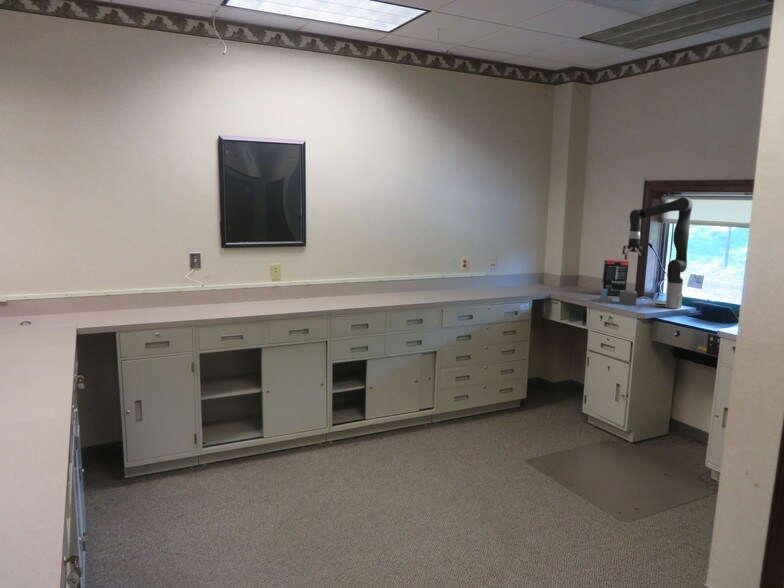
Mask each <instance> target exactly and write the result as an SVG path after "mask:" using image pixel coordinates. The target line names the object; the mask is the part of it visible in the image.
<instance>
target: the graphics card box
mask: <svg viewBox="0 0 784 588" xmlns="http://www.w3.org/2000/svg"><path fill="white" fill-rule="evenodd" d="M629 263H630V262H629V260H612V259H611V260H610V259H604V264H603V273H602V282H601V289H607V296H614V297H620V290H626V291H627V281H628V271H629Z"/></svg>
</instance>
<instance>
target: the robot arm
mask: <svg viewBox="0 0 784 588" xmlns="http://www.w3.org/2000/svg"><path fill="white" fill-rule="evenodd" d="M693 204H694V201H693V200H692V199H691V198H690V197H687V196H686V197H685V196H684V197H683V196H682V197H679V198H677V199H674V200H672V201H669V202H666V203H661V204H655V205H651V206H647V207H645V208H641V209H633V210H632V211H631V212H630V213H629V223H630V228H629V235H628V244H627V245H623V247H622V255H624V260H625V261H628V260H627V259H628V253H637V254H638V259H637V261H638V262H639V261H641V259H642V256H643V255H644V254H645V246H641V230H642V229H641V228H642V225H641V221H640V220H643V219H645V218H650V217H655V216H656V217H657V216H659V215H663V214H666V213H669V212H676V211H677V212H678V218H677V222H676V223H675V226H674V230H673V240H672V241H673V245H674V247H675V259H672V260H670V261H669V263H668V264H667V271H666V272H667V273H666V274H667V275H666V276H667V285H666V286H667V287H666V296H665V297H666V298H665V307H666V308H669V309H671V308H672V309H680V308H682V305H683V304H682V303H683V302H682V301H683V284H684V283H683V282H684V279H683V278H682V277H681V274H682V273H684V272H685V271H686V270H687V267H688V257H687V256H688V243H689V238H690V237H689V236H690V221H691V215H692V211H693V208H694V207H693V206H694V205H693ZM626 249H628V250H627V251H626ZM640 250H641V252H640ZM625 251H626V252H625Z"/></svg>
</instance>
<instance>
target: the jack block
mask: <svg viewBox="0 0 784 588" xmlns="http://www.w3.org/2000/svg"><path fill="white" fill-rule="evenodd" d="M637 296H638V292H637V291H636V290H627V289H626V290H620V296H619V298H618V299H619V300H618V305H625V304H626V306H637V299H638V298H637ZM594 301H597V302H596V303H601V302H606V303H605V304H612V302H613V297H611V296H610V297H608V296H607V299H601V296H596V297H595V299H594Z"/></svg>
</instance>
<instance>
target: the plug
mask: <svg viewBox="0 0 784 588" xmlns="http://www.w3.org/2000/svg"><path fill="white" fill-rule="evenodd" d="M600 292H601V293H600V297H601V299H607V297H608V295H607V289H602V288H601V290H600Z"/></svg>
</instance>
